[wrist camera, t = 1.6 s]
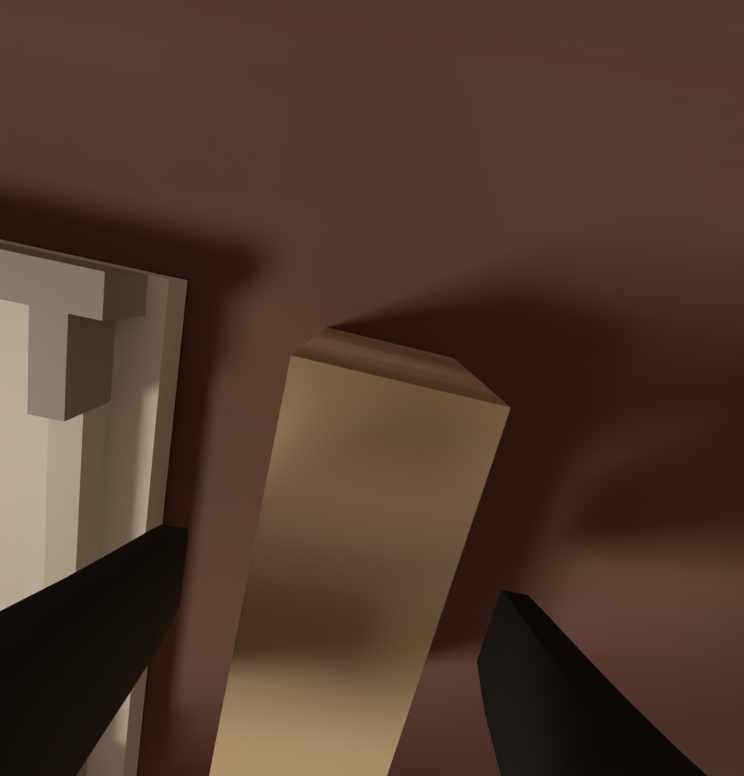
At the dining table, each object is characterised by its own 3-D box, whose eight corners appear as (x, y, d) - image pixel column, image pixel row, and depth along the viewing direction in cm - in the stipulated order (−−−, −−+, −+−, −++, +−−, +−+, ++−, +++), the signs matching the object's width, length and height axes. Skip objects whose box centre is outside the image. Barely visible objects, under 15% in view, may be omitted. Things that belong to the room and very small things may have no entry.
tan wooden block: (362, 664, 14) (356, 865, 9) (259, 643, 14) (197, 837, 9) (452, 357, 11) (510, 407, 6) (327, 326, 11) (291, 355, 6)
